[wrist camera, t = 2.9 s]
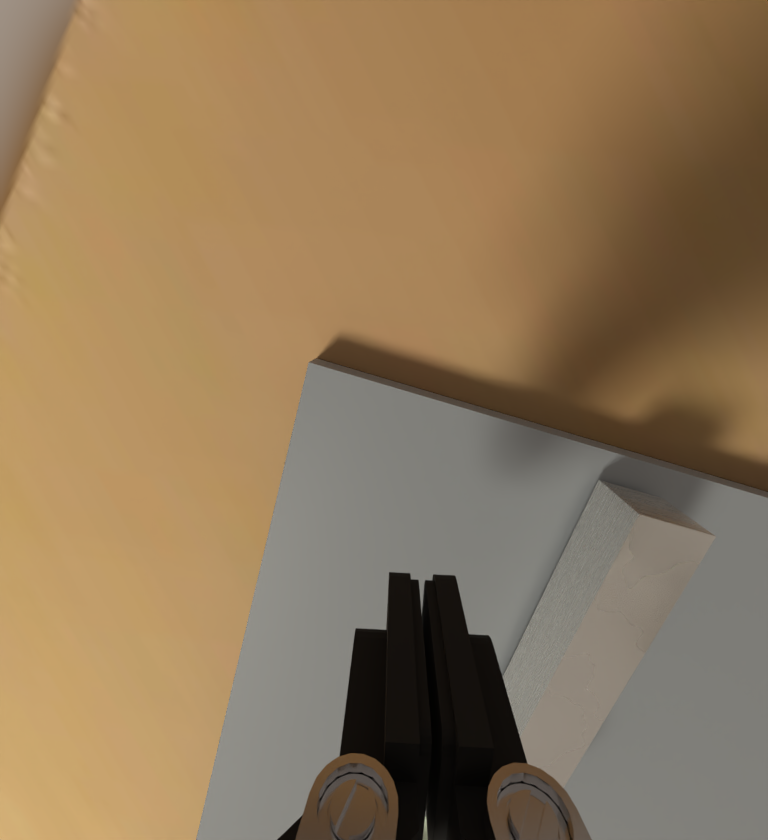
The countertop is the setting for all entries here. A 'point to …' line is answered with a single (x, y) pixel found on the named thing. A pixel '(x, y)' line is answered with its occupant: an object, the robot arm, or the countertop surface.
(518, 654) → the swing bar
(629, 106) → the countertop surface
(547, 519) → the latch plate
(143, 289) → the countertop surface
